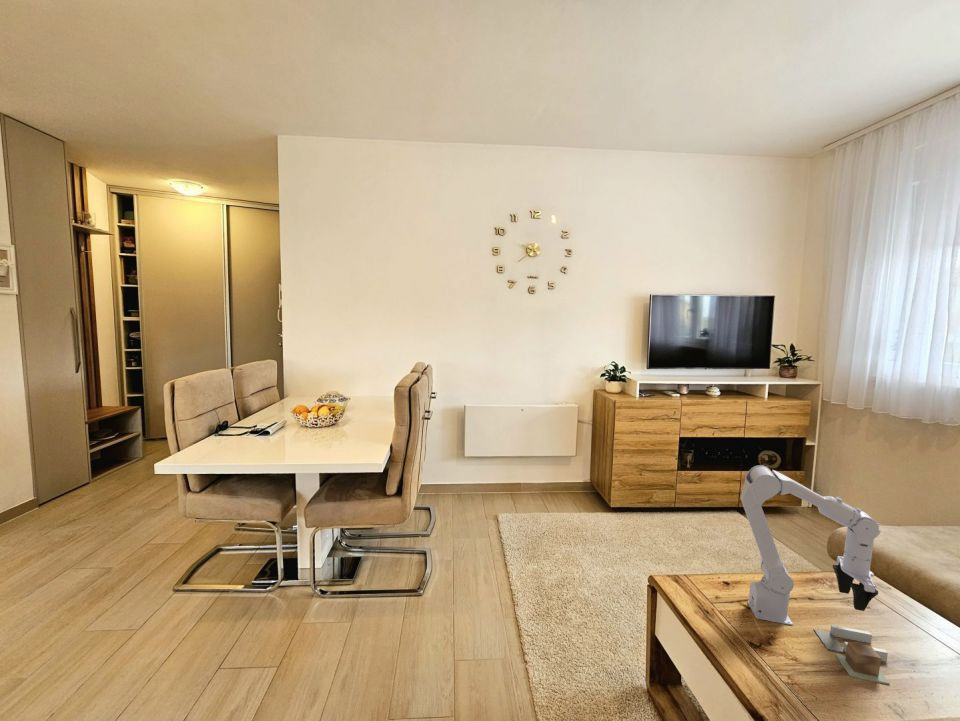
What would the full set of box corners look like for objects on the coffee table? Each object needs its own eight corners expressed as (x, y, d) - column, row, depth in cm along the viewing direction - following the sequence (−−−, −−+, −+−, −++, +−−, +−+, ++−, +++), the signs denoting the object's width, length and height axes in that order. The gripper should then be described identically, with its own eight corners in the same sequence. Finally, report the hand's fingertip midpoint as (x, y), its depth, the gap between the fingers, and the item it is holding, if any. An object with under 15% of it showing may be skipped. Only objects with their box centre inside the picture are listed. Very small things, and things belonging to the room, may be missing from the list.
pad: (850, 676, 107) (850, 674, 107) (835, 655, 113) (835, 653, 113) (889, 684, 105) (889, 683, 105) (871, 662, 111) (872, 661, 111)
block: (854, 671, 108) (857, 653, 107) (845, 659, 112) (847, 641, 111) (878, 676, 106) (881, 658, 106) (868, 664, 110) (870, 646, 110)
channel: (827, 650, 115) (829, 641, 115) (813, 629, 123) (814, 621, 123) (886, 661, 112) (887, 653, 112) (868, 640, 119) (869, 631, 119)
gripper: (891, 572, 112) (884, 621, 113) (859, 544, 126) (853, 588, 127) (859, 567, 114) (853, 615, 115) (831, 540, 128) (825, 583, 129)
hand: (851, 600), depth 121 cm, fingers open, 7 cm apart
